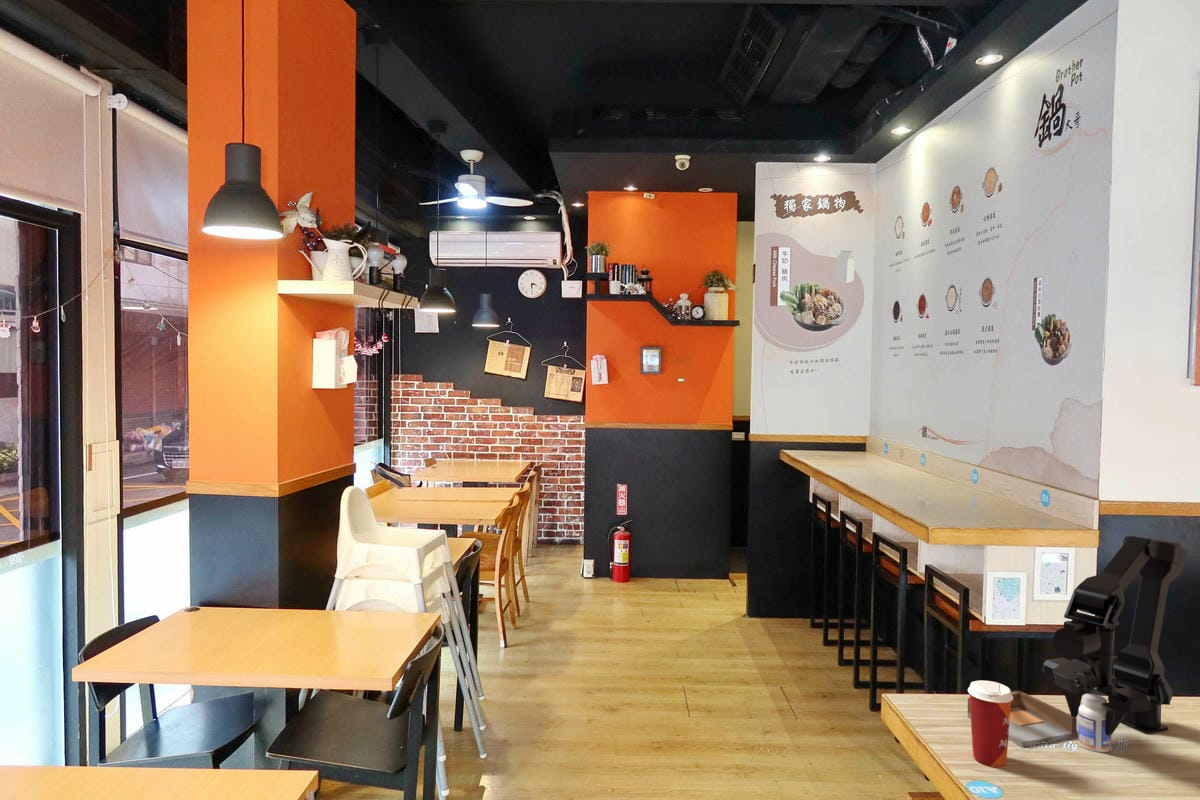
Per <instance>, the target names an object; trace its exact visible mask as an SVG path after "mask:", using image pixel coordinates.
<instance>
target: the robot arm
mask: <svg viewBox="0 0 1200 800" xmlns="http://www.w3.org/2000/svg"><path fill="white" fill-rule="evenodd" d="M1187 556H1188V555H1187V551H1186V549H1185V548H1182V546H1181V544H1180V543H1179V542H1177V541H1170V540H1166V539H1158V538H1153V537H1145V536H1140V535H1139V536H1138V535H1133V534H1131V535H1126V536H1125V537H1124V539H1123V541H1122V545H1121V547H1120V548H1119V549H1118V550H1117V552H1116V553H1115V554H1114V556H1113V557H1112V558H1111V559H1110V560H1109V561H1108V563H1106V565H1105V567H1104V568H1103V569H1102V570H1101V571H1100V572H1099V574H1096V575H1092V576H1089V577H1086V578H1085V579H1084V580H1083V581H1082V582H1080V583H1079V584H1078V585H1077V586H1076V587H1075V588H1074V590H1073V592H1072V594H1071V597H1070V599H1069V602H1068V605H1067V608H1066V610H1065V612H1064V616H1063V618H1065V619H1068V620H1066V621H1064V622H1063V627H1062V628H1059V629H1057V630H1056V631H1055V632H1054V635H1053V636H1052V642H1053V643H1052V644H1053V646H1054V648H1055V650H1056V651H1057V652H1058V654H1060V655H1061V656H1062V657H1058V658H1051V659H1049V658H1048V659H1046V660H1045V661H1044V663H1043V664H1042V674H1044V675H1047V676H1049V677H1051V681H1052V682H1054V683H1055V684H1056V686H1057V687H1059V688H1061V690H1062V692H1063V694H1064V698H1065V700H1066V704H1067V706H1068V710H1069V714H1070V715H1071V716H1072V717H1076V718H1078V713H1079V707H1080V706H1081V705H1082V704H1081V703H1082V700H1083V695H1084V694H1083V693H1084V691H1087V692H1090V691H1092V690H1096V691H1098V692H1099V693H1102V694H1104V695H1107V703H1102V705H1103V706H1104V708H1105V709H1106V723H1105V731H1106V735H1108V736H1109V735H1111V736H1112V735H1113V733H1114V732H1115V731H1116V729H1117V728H1118V727H1119V725H1120V724H1121V723H1123V724H1124V725H1126V726H1129V727H1130V728H1133V729H1135V730H1136V731H1137V730H1138V731H1140V732H1142V733H1144V734H1152V733H1157V732H1162V731H1166V730H1169V726H1167V725H1166V724H1163V723H1162V706H1163V705H1164V706H1165V705H1166V706H1170V705H1171V702H1172V699H1173V689H1172V687H1171V686H1170V684H1169V682H1168V680H1167V679H1166V678H1165V669H1166V668H1165V666H1164V664H1163V662H1162V660H1161V658H1160V655H1159V654H1158V652H1159V651H1158V649H1159V643H1160V640H1161V633H1162V628H1163V621H1164V615H1165V609H1166V602H1167V598H1168V592H1169V588H1170V587H1169V586H1170V584H1171V583H1172V582H1173V581H1174V580H1176V579H1177V578H1178V577H1179V576H1180V575H1181V573H1182V569H1183V568H1184V567H1183V566H1184V565H1185V563H1186V562H1187ZM1138 574H1139V576H1140V581H1139V587H1138V594H1137V598H1136V604H1135V611H1134V615H1133V622H1132V627H1131V628H1132V629H1131V632H1130V633H1131V634H1130V639H1129V643H1128V645H1127V646H1126V647H1125V648H1124V649H1122V650H1118V651H1117V652H1116V653H1115V655H1114V649H1115V635H1116V634H1115V633H1116V627H1118V626H1119V625H1120V621H1119V616H1120V615H1121V613H1122V611H1123V609H1124V606H1125V604H1126V601H1125V597H1124V593H1125V591H1126V590H1127V588H1128V587H1129V585H1130V584H1131V583H1133V581H1134V579H1135V578H1136V576H1138ZM1112 684H1113V685H1114V686H1112Z"/></svg>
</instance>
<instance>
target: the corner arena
mask: <svg viewBox="0 0 1200 800" xmlns="http://www.w3.org/2000/svg"><path fill="white" fill-rule="evenodd" d="M1011 694H1012V696H1013V700H1012V701H1011V710H1010V723H1009V736H1008V741H1010V742H1012V743H1014V744H1015V743H1016V744H1015V745H1017V746H1019V745H1020V746H1019V747H1020V748H1024V747H1023V746H1026V747H1029V746H1028V745H1031V746H1034V744H1037V745H1039V744H1038V743H1042V742H1048V743H1050V742H1049V741H1053V742H1058V741H1057V740H1059V741H1064V740H1068V738H1070V739H1075V738H1077V734H1078V731H1077V729H1078V728H1077V727H1078V726H1077V723H1078V721H1077V720H1078V717H1072V716H1071V713H1068V712H1066V711H1064V710H1061V709H1060V708H1057V707H1055V706H1053V705H1050V704H1049V703H1046V702H1045V701H1043V700H1040V699H1038V698H1036V697H1034V696H1032V695H1029V694H1027V693H1026V692H1023V691H1021V690H1014V691H1011ZM967 718H969V719H971V711H970V697H967ZM1074 737H1075V738H1074ZM1063 739H1064V740H1063ZM1042 744H1043V743H1042Z"/></svg>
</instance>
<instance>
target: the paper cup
mask: <svg viewBox="0 0 1200 800" xmlns="http://www.w3.org/2000/svg"><path fill="white" fill-rule="evenodd" d="M967 692H968V693H969V698H970V711H971V718H970V728H971V745H972V756H973V759H974V760H975V761H976V762H977V763H978V764H981V765H983V766H986V767H990V768H1002V767H1004V766H1006V764H1007V756H1008V745H1009V740H1008V736H1009V723H1010V710H1011V701H1012V700H1013V696H1012V694H1011V692H1012V691H1011V689H1010V688H1009V687H1008V686H1006V685H1004V684H1002V683H999V682H997V681H992V680H991V681H990V680H982V679H981V680H975V681H974V680H973V681H971V682H970V685H969V687H968V688H967Z"/></svg>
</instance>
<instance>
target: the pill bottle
mask: <svg viewBox="0 0 1200 800" xmlns="http://www.w3.org/2000/svg"><path fill="white" fill-rule="evenodd" d="M1081 702H1082V704H1080V707H1079V712H1078V715H1077V720H1078V721H1077V723H1078V726H1077V727H1078V728H1077V729H1078V731H1077V734H1078V735H1077V736H1078V744H1079V745H1080V746H1081V747H1083V748H1085V749H1087V750H1090V751H1093V752H1099V753H1106V752H1109V751H1110V750H1111V749H1112V735H1109V736H1108V735H1106V731H1105V723H1106V709H1105V708H1104V706H1103V705H1102V703H1107V702H1108V699H1106V698H1105V697H1103V696H1101V695H1098V694H1094V693H1085V694H1082V699H1081Z"/></svg>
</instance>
